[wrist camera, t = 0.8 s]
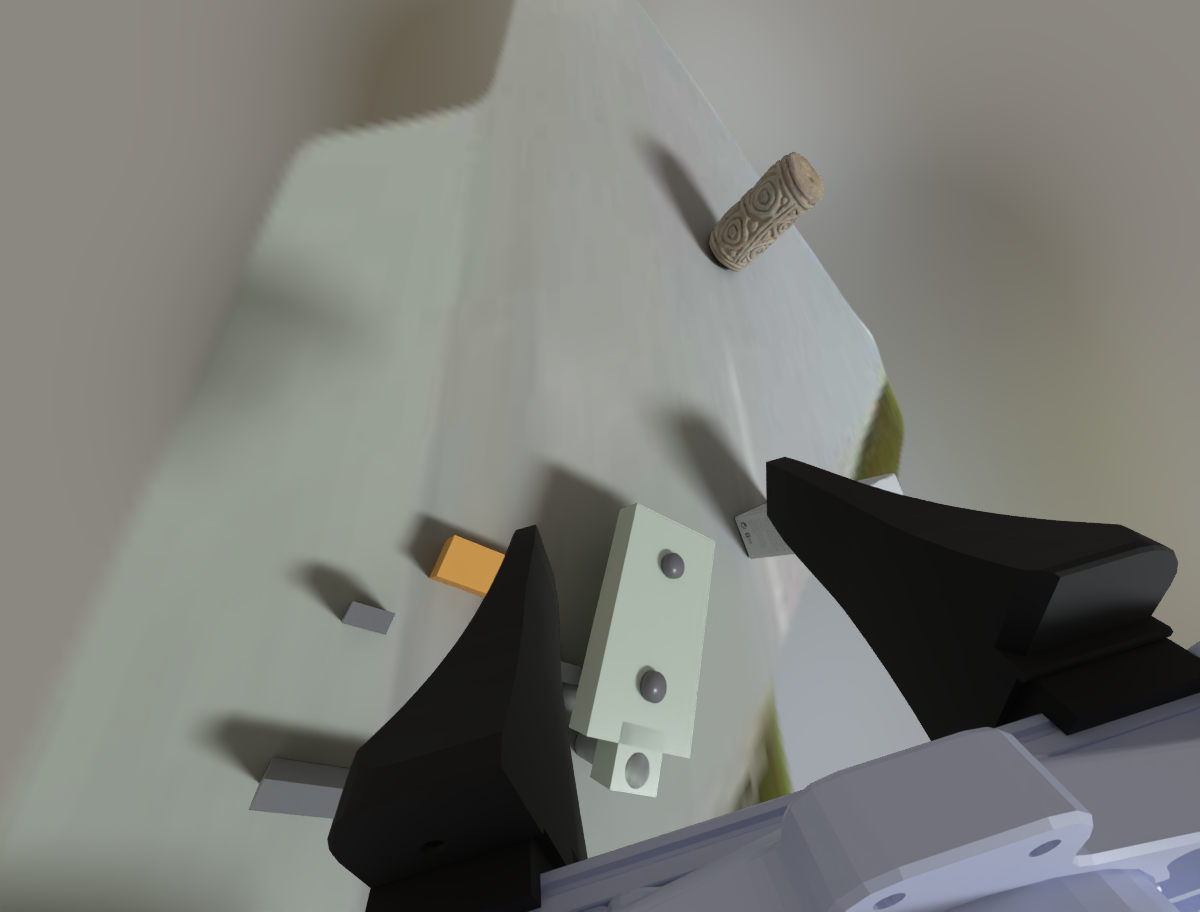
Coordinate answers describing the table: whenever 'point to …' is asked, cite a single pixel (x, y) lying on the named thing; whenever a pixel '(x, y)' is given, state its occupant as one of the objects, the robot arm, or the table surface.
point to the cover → (644, 652)
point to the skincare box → (765, 537)
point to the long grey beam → (322, 785)
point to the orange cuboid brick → (467, 565)
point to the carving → (766, 211)
